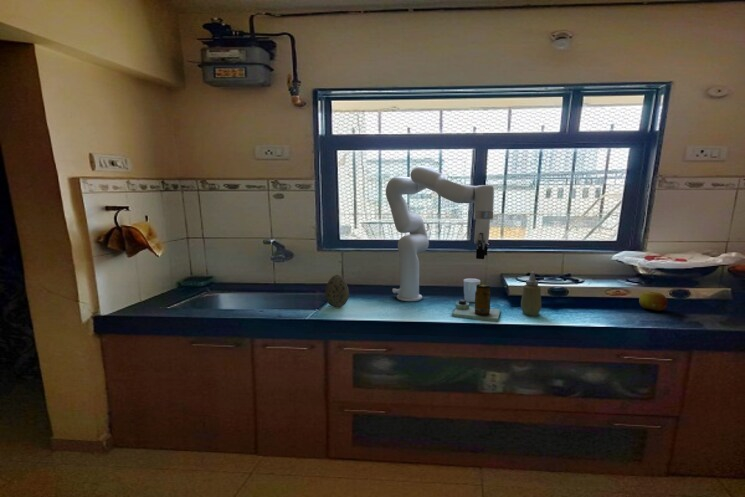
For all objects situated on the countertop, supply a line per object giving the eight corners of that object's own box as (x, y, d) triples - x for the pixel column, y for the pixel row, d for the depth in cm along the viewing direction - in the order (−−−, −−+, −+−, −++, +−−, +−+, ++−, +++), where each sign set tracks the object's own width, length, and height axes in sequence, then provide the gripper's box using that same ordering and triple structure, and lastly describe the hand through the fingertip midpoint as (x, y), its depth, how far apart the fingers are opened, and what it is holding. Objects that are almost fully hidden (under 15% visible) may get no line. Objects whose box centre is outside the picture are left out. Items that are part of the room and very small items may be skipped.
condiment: (482, 309, 151) (483, 282, 149) (497, 315, 143) (498, 286, 142) (469, 312, 147) (470, 284, 146) (484, 318, 140) (485, 288, 138)
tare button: (458, 304, 153) (458, 301, 153) (459, 303, 156) (459, 299, 156) (465, 305, 152) (465, 301, 152) (466, 303, 155) (466, 299, 155)
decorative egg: (344, 302, 168) (343, 272, 166) (352, 308, 159) (352, 276, 157) (322, 305, 164) (321, 274, 162) (330, 312, 154) (329, 278, 152)
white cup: (478, 298, 173) (478, 278, 171) (481, 302, 165) (482, 282, 164) (461, 298, 173) (462, 278, 172) (464, 302, 166) (464, 281, 164)
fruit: (663, 308, 152) (665, 290, 151) (669, 314, 144) (671, 295, 143) (636, 306, 157) (638, 288, 156) (640, 311, 149) (642, 293, 148)
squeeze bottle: (532, 318, 143) (534, 274, 140) (516, 312, 150) (517, 271, 147) (545, 315, 146) (547, 272, 144) (529, 309, 153) (530, 269, 151)
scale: (451, 316, 146) (451, 309, 146) (456, 307, 158) (456, 301, 158) (497, 321, 139) (498, 314, 139) (500, 312, 151) (500, 305, 150)
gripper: (476, 214, 153) (475, 253, 155) (470, 216, 137) (469, 259, 139) (494, 215, 150) (493, 254, 152) (490, 217, 134) (488, 261, 136)
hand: (481, 257), depth 146 cm, fingers open, 9 cm apart
